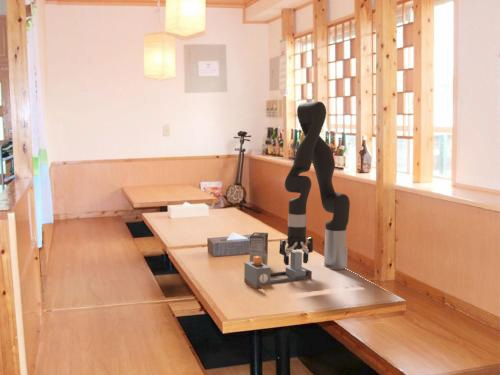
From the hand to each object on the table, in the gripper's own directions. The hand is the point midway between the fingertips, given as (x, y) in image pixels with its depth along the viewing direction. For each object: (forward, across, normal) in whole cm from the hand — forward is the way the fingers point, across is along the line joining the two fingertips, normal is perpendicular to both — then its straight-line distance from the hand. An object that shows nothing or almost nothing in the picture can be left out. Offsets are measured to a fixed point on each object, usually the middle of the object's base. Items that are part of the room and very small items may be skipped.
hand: (295, 263), depth 263 cm
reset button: (-1, +18, 0) cm, 18 cm away
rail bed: (+7, +8, 0) cm, 10 cm away
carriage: (+5, 0, 0) cm, 5 cm away
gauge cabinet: (+5, +17, 0) cm, 18 cm away
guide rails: (+5, +6, 0) cm, 8 cm away
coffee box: (+7, +8, -19) cm, 22 cm away
